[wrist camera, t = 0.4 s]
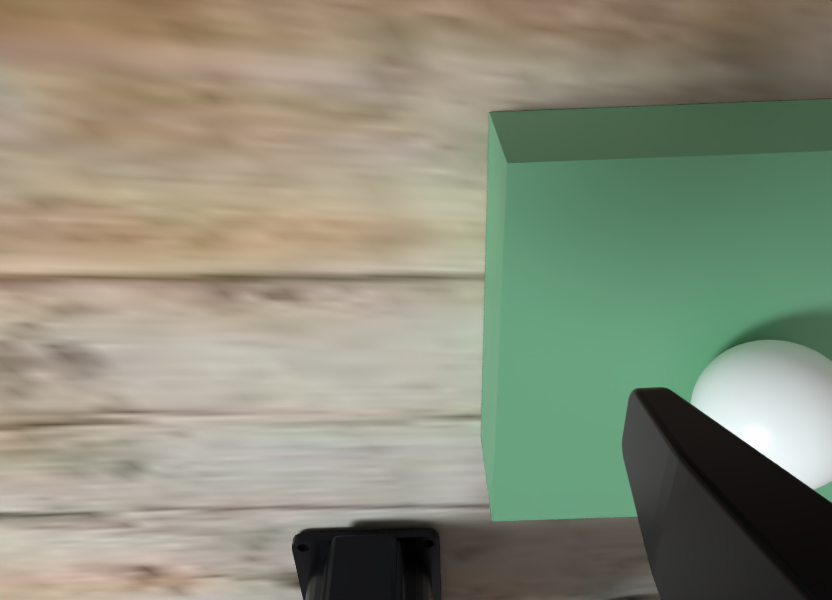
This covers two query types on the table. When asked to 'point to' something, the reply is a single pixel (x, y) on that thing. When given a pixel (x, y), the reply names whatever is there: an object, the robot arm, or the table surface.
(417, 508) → the table surface
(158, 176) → the table surface
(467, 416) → the table surface
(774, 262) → the block
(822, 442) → the ball
